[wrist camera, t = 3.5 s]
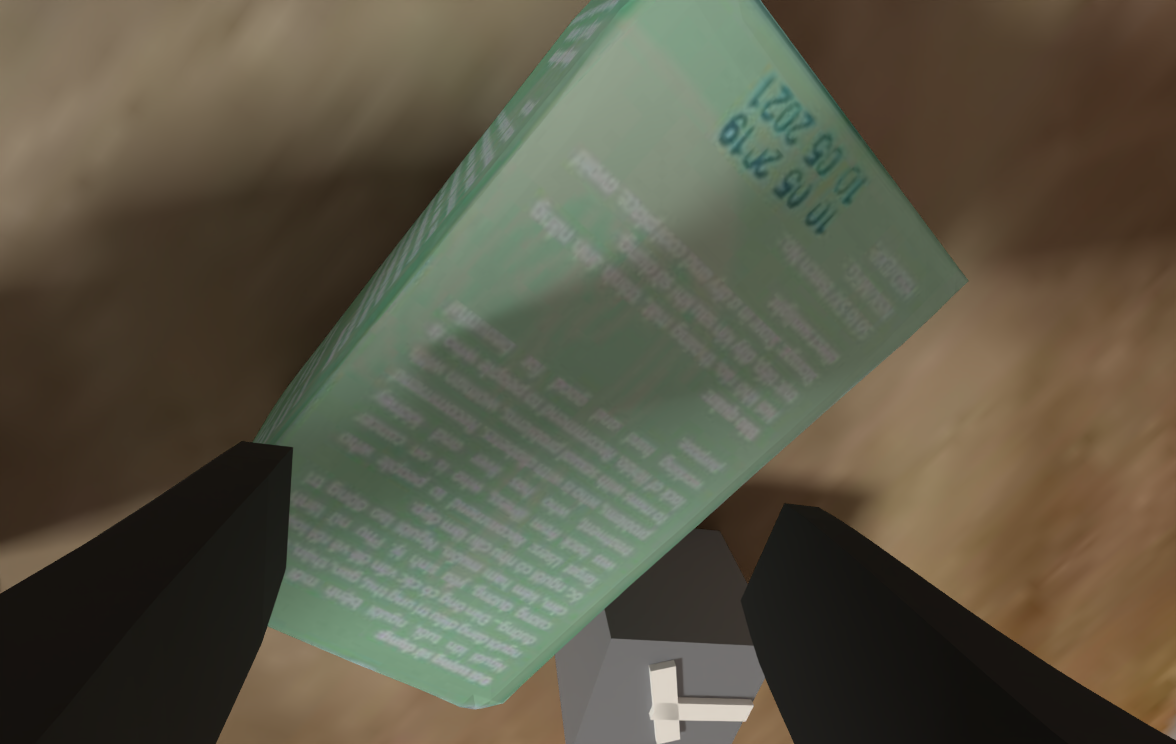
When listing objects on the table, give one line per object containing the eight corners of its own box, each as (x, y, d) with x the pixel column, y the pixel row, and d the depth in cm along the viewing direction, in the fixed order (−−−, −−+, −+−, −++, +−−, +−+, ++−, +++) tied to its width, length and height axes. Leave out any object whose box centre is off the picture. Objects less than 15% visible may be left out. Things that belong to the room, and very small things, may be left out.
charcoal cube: (551, 624, 22) (569, 768, 18) (583, 515, 20) (612, 644, 16) (677, 631, 23) (724, 767, 19) (719, 529, 21) (783, 652, 17)
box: (272, 400, 17) (137, 609, 10) (596, -18, 14) (707, -109, 7) (483, 520, 20) (486, 744, 13) (789, 197, 17) (995, 276, 10)
